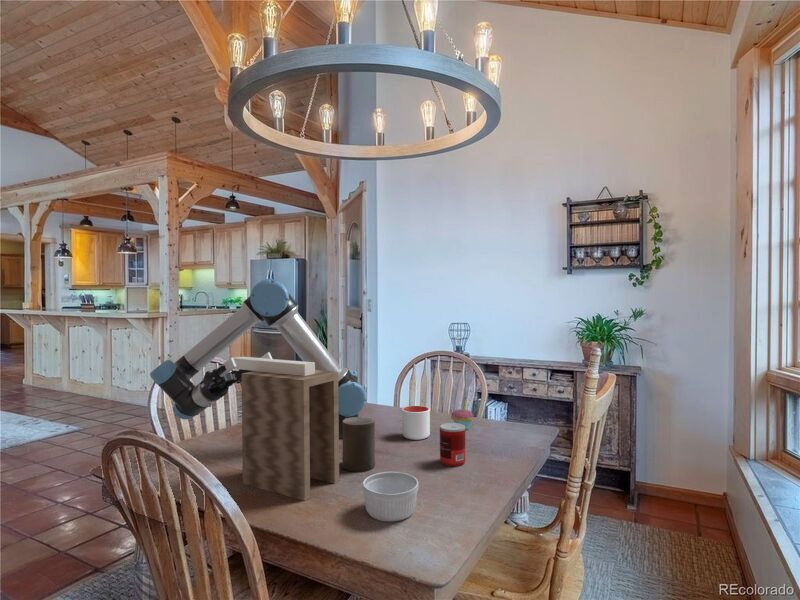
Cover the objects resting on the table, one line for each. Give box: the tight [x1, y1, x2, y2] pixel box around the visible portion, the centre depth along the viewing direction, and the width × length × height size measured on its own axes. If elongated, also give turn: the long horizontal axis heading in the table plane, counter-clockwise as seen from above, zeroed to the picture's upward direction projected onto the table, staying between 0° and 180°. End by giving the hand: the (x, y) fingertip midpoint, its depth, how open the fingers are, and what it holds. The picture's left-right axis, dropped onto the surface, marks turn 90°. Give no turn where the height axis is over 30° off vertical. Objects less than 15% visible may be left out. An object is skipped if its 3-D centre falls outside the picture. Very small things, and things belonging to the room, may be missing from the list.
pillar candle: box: [342, 415, 376, 473], centre depth 139 cm, size 10×10×15 cm
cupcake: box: [450, 397, 475, 431], centre depth 178 cm, size 9×8×12 cm
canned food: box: [439, 422, 466, 467], centre depth 142 cm, size 8×8×11 cm
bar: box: [233, 356, 315, 376], centre depth 130 cm, size 28×4×3 cm, turn 60°
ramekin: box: [362, 471, 419, 523], centre depth 110 cm, size 13×13×7 cm
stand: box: [241, 370, 340, 501], centre depth 127 cm, size 22×14×30 cm, turn 60°
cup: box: [401, 405, 431, 441], centre depth 168 cm, size 10×10×10 cm
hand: (252, 358), depth 134 cm, fingers open, 13 cm apart
